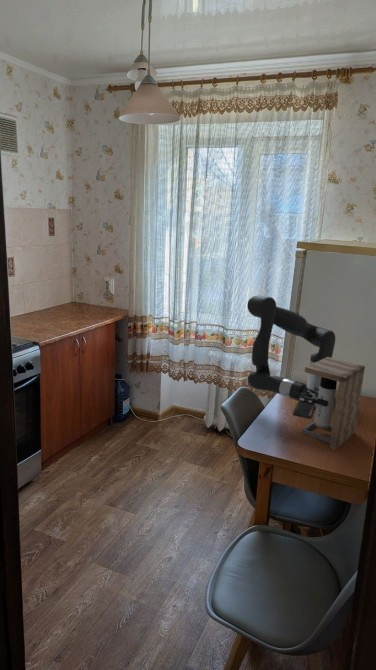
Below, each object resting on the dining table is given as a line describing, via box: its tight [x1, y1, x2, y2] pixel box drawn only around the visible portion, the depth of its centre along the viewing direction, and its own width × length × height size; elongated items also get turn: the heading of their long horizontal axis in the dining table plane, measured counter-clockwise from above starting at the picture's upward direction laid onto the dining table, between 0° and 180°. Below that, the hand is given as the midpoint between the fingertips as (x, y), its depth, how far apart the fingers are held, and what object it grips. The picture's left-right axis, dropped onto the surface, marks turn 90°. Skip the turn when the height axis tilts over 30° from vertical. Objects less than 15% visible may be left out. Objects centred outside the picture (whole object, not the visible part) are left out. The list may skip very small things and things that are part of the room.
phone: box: [292, 401, 316, 419], centre depth 206 cm, size 8×1×15 cm
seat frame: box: [300, 420, 333, 444], centre depth 184 cm, size 12×12×2 cm
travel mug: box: [313, 377, 338, 430], centre depth 182 cm, size 6×7×20 cm
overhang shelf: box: [304, 357, 366, 451], centre depth 180 cm, size 20×16×28 cm
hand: (331, 401), depth 180 cm, fingers closed on travel mug, 6 cm apart
